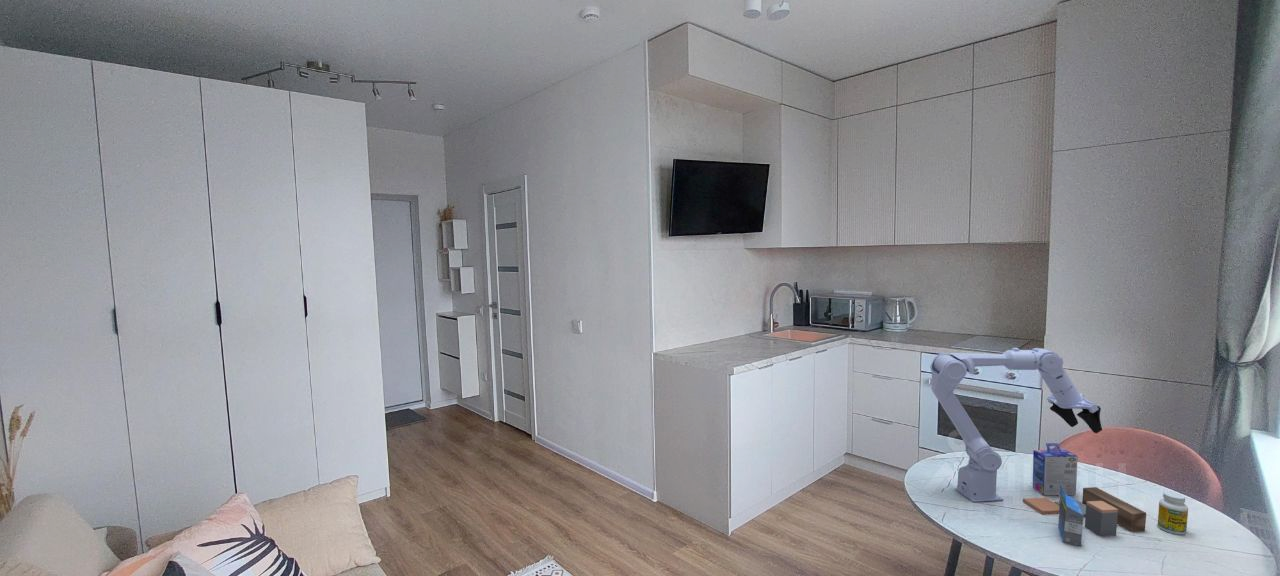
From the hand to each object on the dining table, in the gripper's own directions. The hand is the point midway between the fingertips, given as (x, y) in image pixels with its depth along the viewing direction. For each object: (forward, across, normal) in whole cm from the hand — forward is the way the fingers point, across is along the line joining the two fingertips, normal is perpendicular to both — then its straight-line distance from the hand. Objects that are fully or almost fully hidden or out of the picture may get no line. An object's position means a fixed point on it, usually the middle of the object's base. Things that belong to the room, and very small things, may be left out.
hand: (1086, 428), depth 149 cm
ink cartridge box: (+18, +10, +12) cm, 24 cm away
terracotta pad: (+13, +1, +22) cm, 26 cm away
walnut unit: (+21, -5, +10) cm, 24 cm away
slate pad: (+17, -1, +16) cm, 23 cm away
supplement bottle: (+27, -12, +2) cm, 29 cm away
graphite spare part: (+17, -11, +19) cm, 28 cm away
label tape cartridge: (+13, -12, +27) cm, 33 cm away
